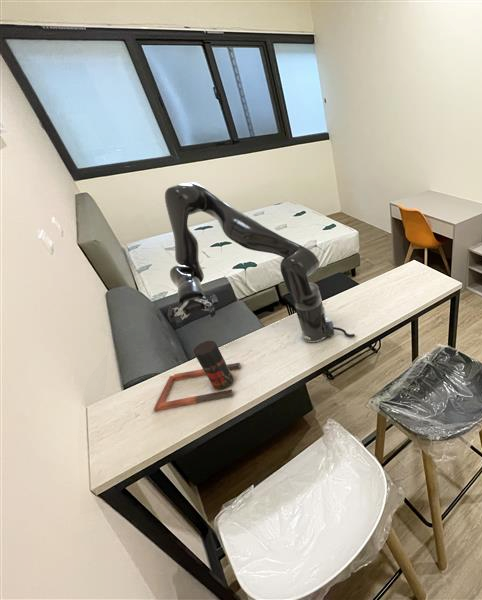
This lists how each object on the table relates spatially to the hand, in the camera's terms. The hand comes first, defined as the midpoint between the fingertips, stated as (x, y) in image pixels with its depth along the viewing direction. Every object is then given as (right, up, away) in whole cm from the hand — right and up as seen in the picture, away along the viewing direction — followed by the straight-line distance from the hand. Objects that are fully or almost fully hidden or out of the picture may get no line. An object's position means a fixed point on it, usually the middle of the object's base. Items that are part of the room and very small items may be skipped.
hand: (196, 319), depth 99 cm
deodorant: (+7, -20, +3) cm, 22 cm away
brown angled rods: (+1, -21, +2) cm, 21 cm away
